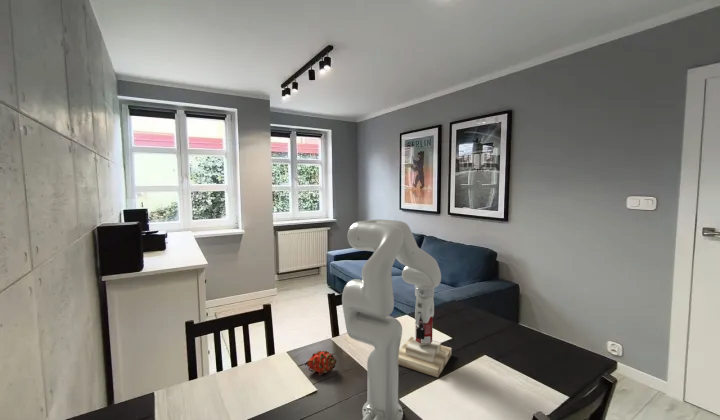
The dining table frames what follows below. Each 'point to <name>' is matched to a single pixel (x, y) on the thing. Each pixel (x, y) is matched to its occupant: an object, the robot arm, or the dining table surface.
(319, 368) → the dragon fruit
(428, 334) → the soda can
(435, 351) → the birch riser
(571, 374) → the dining table surface
